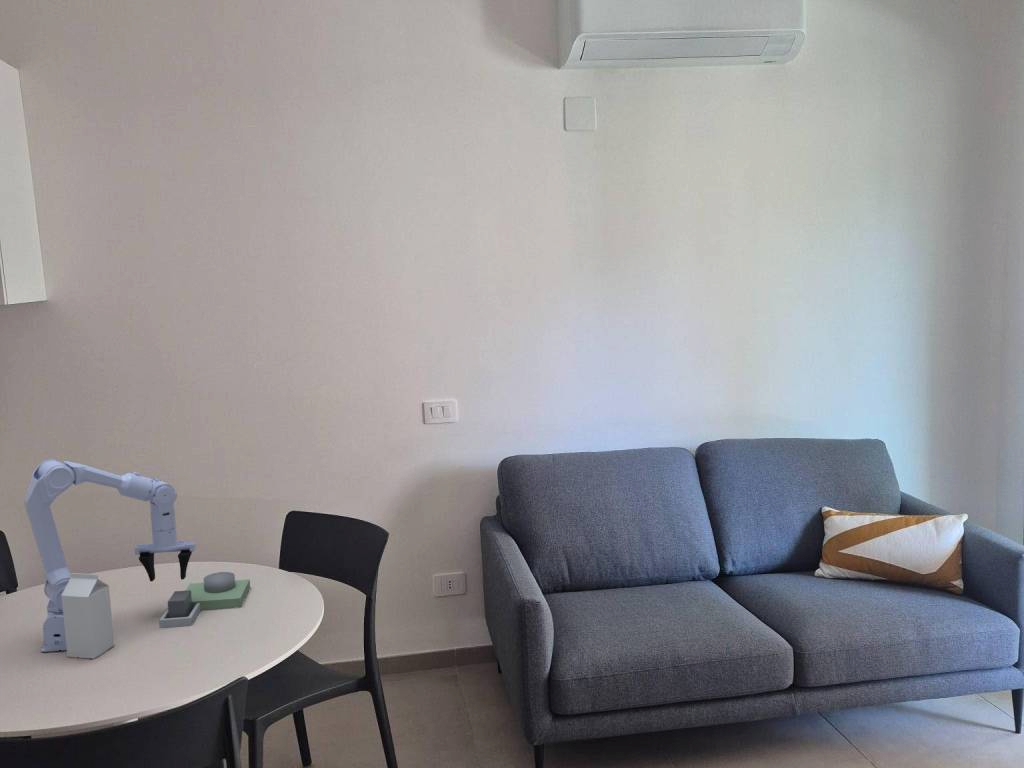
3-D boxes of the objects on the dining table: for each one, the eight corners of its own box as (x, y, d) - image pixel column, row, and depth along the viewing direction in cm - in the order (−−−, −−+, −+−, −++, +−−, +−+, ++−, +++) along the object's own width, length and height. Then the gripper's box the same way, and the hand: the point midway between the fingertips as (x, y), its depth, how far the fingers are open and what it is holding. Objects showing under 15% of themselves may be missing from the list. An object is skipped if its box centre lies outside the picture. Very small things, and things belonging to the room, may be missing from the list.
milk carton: (94, 659, 194) (86, 580, 192) (67, 657, 196) (59, 578, 193) (114, 646, 201) (107, 569, 199) (88, 644, 203) (81, 567, 200)
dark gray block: (185, 623, 214) (184, 600, 213) (169, 624, 213) (167, 601, 212) (192, 612, 221) (190, 590, 220) (176, 613, 220) (174, 591, 219)
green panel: (233, 622, 213) (231, 601, 212) (159, 627, 211) (158, 606, 210) (250, 587, 237) (248, 569, 236) (184, 592, 234) (182, 573, 234)
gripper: (197, 522, 221) (200, 571, 223) (139, 525, 220) (143, 575, 222) (190, 529, 214) (194, 581, 216) (130, 533, 213) (134, 585, 215)
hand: (168, 579), depth 218 cm, fingers open, 7 cm apart
